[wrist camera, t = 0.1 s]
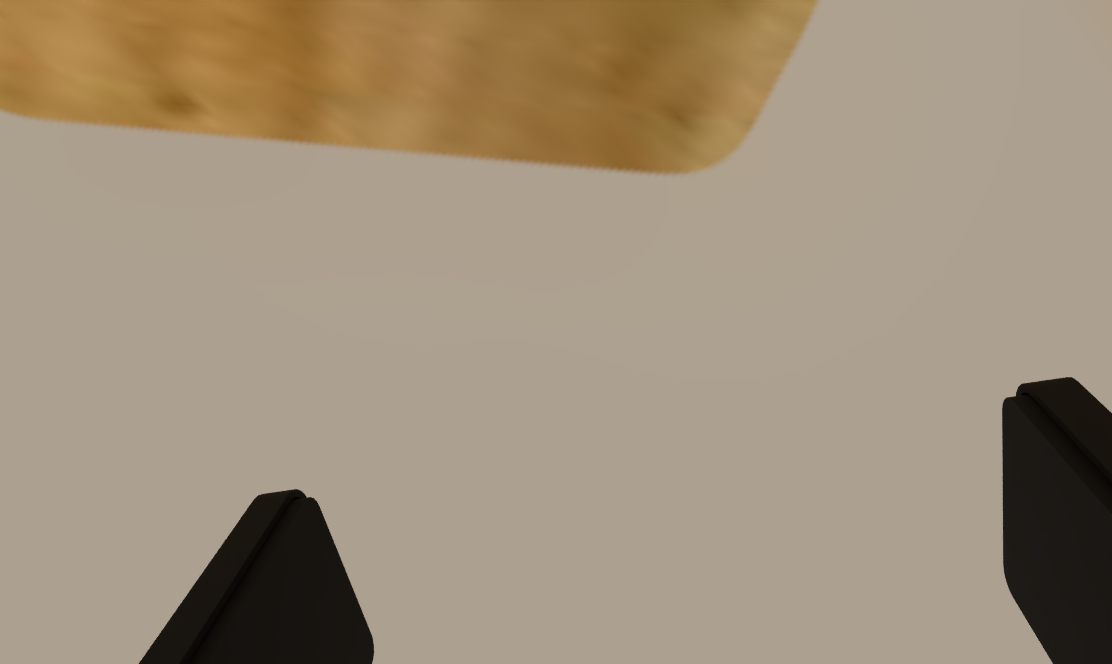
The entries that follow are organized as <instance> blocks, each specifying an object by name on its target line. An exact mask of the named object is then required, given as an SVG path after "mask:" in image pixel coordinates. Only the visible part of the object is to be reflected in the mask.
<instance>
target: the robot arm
mask: <svg viewBox="0 0 1112 664" xmlns="http://www.w3.org/2000/svg"><path fill="white" fill-rule="evenodd" d="M1002 421H1003V422H1002V431H1003V437H1002V438H1003V564H1004V573H1005V578H1006V581H1007V585H1008V587H1009V590H1010V592H1011V594H1012V596H1013V598H1014V599H1015V601H1016V603H1017V604H1018V606H1019V608H1020V610H1021V611H1022V613H1023V615H1024V616H1025V618H1026V620H1027V621H1028V623H1029V625H1030V626H1031V628H1032V629H1033V631H1034V633H1035V634H1036V636H1037V638H1038V640H1039V641H1040V643H1041V644H1042V646H1043V648H1044V649H1045V651H1046V652H1047V654H1048V656H1049V658H1050V659H1051V661H1052V662H1053V664H1112V413H1111V412H1110V411H1109V410H1108V409H1107V408H1106V407H1105V406H1104V405H1102V404H1101V403H1100V402H1099V401H1098V400H1097V399H1096V398H1095V397H1094V396H1093V395H1092V394H1091V393H1089V392H1088V390H1086V389H1085V388H1084V387H1083V386H1082V385H1081V384H1080V383H1079V382H1078V381H1077V380H1075V379H1074V378H1072V377H1066V378H1059V379H1053V380H1045V381H1038V382H1031V383H1024V384H1021V385H1020V386H1019V387H1018V389H1017V392H1016V396H1015V397H1008V398H1006V399H1005V400H1004V402H1003V408H1002ZM373 656H374V644H373V638H372V635H371V632H370V630H369V627H368V625H367V622H366V620H365V618H364V615H363V613H362V610H361V608H360V605H359V603H358V600H357V598H356V595H355V593H354V590H353V588H352V585H351V583H350V580H349V578H348V576H347V573H346V571H345V568H344V566H343V563H342V561H341V558H340V556H339V553H338V551H337V548H336V546H335V544H334V541H333V539H332V536H331V534H330V532H329V529H328V526H327V524H326V521H325V519H324V516H323V514H322V511H321V509H320V507H319V505H318V503H317V501H316V500H315V499H314V498H311V497H309V498H307V497H306V496H305V494H304V493H303V492H302V491H300V490H297V489H294V490H287V491H281V492H274V493H267V494H261V495H258V496H257V497H256V498H255V499H254V500H253V502H252V503H251V504H250V506H249V507H248V509H247V510H246V512H245V513H244V514H243V516H242V517H241V519H240V520H239V522H238V523H237V525H236V526H235V528H234V529H233V530H232V532H231V533H230V534H229V536H228V537H227V539H226V540H225V542H224V543H223V544H222V546H221V547H220V549H219V550H218V551H217V553H216V554H215V556H214V557H213V559H212V560H211V562H210V563H209V564H208V566H207V567H206V569H205V570H204V572H203V573H202V574H201V576H200V577H199V579H198V580H197V581H196V583H195V584H194V586H193V587H192V589H191V590H190V591H189V593H188V594H187V596H186V597H185V599H184V600H183V602H182V603H181V604H180V606H179V607H178V609H177V610H176V612H175V613H174V614H173V616H172V617H171V619H170V620H169V621H168V623H167V624H166V626H165V627H164V629H163V630H162V631H161V633H160V634H159V636H158V637H157V638H156V640H155V641H154V643H153V644H152V646H151V647H150V649H149V650H148V651H147V653H146V654H145V656H144V657H143V658H142V660H141V661H140V663H139V664H372V661H373Z"/></svg>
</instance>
